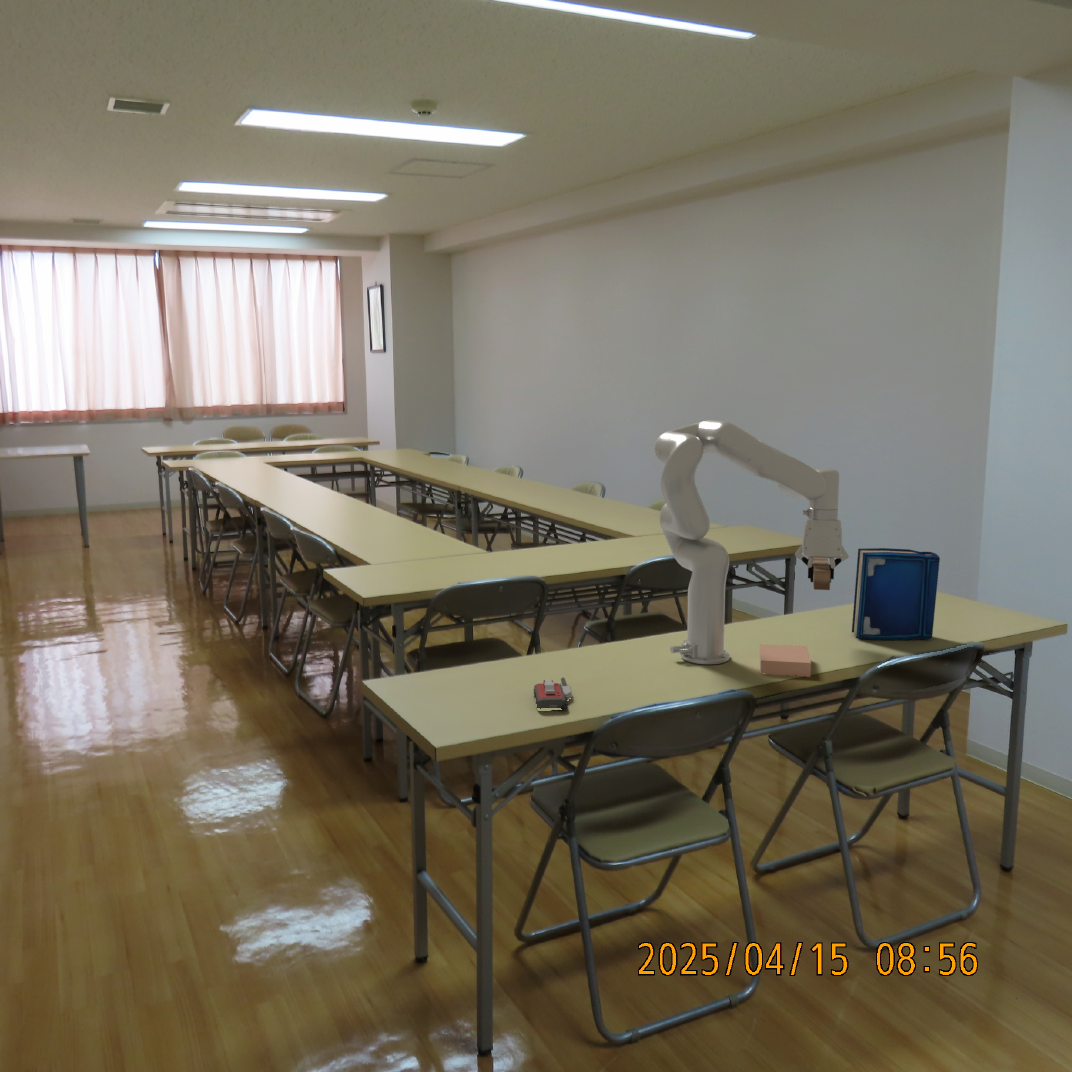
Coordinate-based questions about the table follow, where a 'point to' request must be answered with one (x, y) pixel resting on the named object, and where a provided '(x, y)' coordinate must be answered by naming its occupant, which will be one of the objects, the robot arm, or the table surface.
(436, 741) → the table surface
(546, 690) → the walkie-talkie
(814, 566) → the block
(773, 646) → the tile
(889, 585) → the book
